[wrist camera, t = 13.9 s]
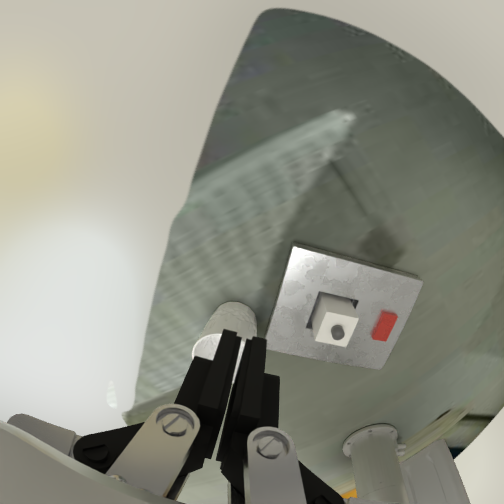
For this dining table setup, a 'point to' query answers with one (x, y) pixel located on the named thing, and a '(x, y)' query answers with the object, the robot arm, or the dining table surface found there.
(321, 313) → the plug
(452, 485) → the paper bag
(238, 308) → the white cup
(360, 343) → the socket plate
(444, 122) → the dining table surface
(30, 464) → the robot arm
